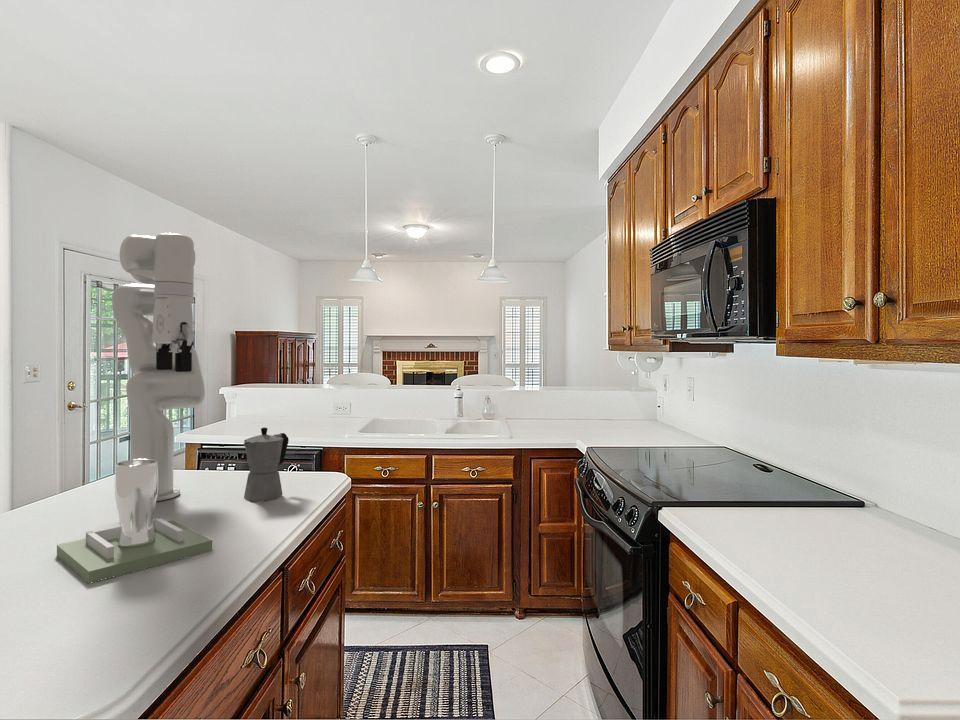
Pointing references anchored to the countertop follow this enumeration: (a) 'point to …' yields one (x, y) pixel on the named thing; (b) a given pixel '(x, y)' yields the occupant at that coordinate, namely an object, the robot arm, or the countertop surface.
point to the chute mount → (130, 550)
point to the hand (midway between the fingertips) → (173, 370)
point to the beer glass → (136, 501)
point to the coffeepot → (264, 465)
